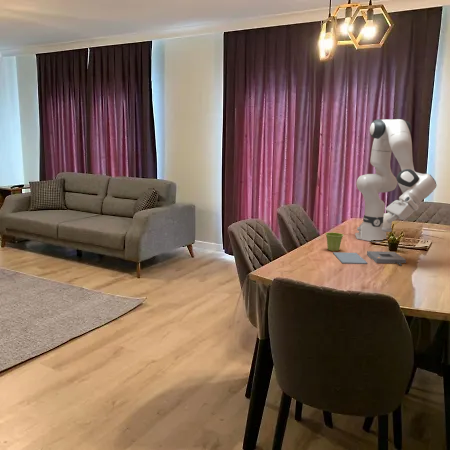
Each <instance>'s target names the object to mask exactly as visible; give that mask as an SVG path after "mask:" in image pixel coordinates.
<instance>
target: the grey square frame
mask: <svg viewBox="0 0 450 450" xmlns="http://www.w3.org/2000/svg"><path fill="white" fill-rule="evenodd" d="M367 255H368V257H369V258H370V259H371V260H372V259H373V260H374V261H373V260H372V261H373V262H375V263H376V264H396V263H397V264H396V265H398V264H399V265H398V266H399V267H403V264H401V263H407V259H406V258H404V257H403V256H401V254H398V253H397V252H395V251H380V250H379V251H372V250H369V251H366V256H367Z"/></svg>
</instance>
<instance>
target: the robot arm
mask: <svg viewBox="0 0 450 450" xmlns="http://www.w3.org/2000/svg"><path fill="white" fill-rule="evenodd" d="M411 132H412V124H411V123H410V121H408V120H404V119H402V118H401V119H400V118H396V119H394V118H391V119H389V118H388V119H386V118H385V119H381V118H378V119H373V121H372V122H371V124H370V126H369V135H370V137H371V138H373V141H372V146H371V152H370V161H369V163H370V165H371V166H372V167H374V170H375V173H366V174H362V175H359V176H358V178H357V179H356V182H355V184H356V188H357V190H358V191H359V192H360V193H361V194H362V196H363V200H364V215H363V216H362V217H363V219H362V223H360V225H359V226H357V228H356V231H358V232H355V234H354V235H355V238H356V240H363V241H368V242H372V241H371V240H383V239H386V237H387V232H385V231H382V227H383V218H384V213H385V211H386V213H390V214H392V217H391V218H389V219H388V220H387V222H388V223H391V222H393V221H396V220H397V219H399V220H402V221H403V220H406V219H408V218H409V217H410V216H411V215H412V214H414V212H416V211H418V210H420V207H419V205H420V204H421V203H422V201H423V200H425V199H427V198H428V197H429V196H430V195H431V194H432V193H433V192H434V191H435V189H436V188H437V181H436V180H435V179H434V177H433V176H432V175H431V174H430V173H421V172H417V171H416V170H415V165H414V162H413V161H414V160H413V159H414V158H413V142H412V135H411ZM392 153H393V156H394V158H395V159H396V160H397V162H398V164H399V167H400V170H401V171H399V172H398V174H397V175H396V176H395V175H394V173H393V172H392V168H391V159H392ZM397 186H399V188H400V190H401V193H402V194H401V195H399V197H398V199H396V200H394V201H392V202H391V203H390V204H388V206H386V203H385V202H384V200H382V199H381V197H380V195H379V193H388V192H392V191H395V189H396V188H397Z"/></svg>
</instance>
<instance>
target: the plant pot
mask: <svg viewBox="0 0 450 450" xmlns="http://www.w3.org/2000/svg"><path fill="white" fill-rule="evenodd" d="M325 235H326V244H327V245H326V246H327V251H329V252H337V251H340V249H341V248H340V247H341V243H342V239H343V237H344V234H343V233H339V232H334V231H333V232H332V231H331V232H326V233H325Z"/></svg>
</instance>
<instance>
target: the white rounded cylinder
mask: <svg viewBox="0 0 450 450" xmlns="http://www.w3.org/2000/svg"><path fill="white" fill-rule="evenodd" d="M392 216H393V215H392V214H390V213H388V212H386V213H385V212H384V218H383V227H382V231H385V232H386V233H391V232H392V231H393V228H392V222H393V221H392V222H391V223H388V222H387V220H388V219H389V218H391V217H392Z"/></svg>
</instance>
